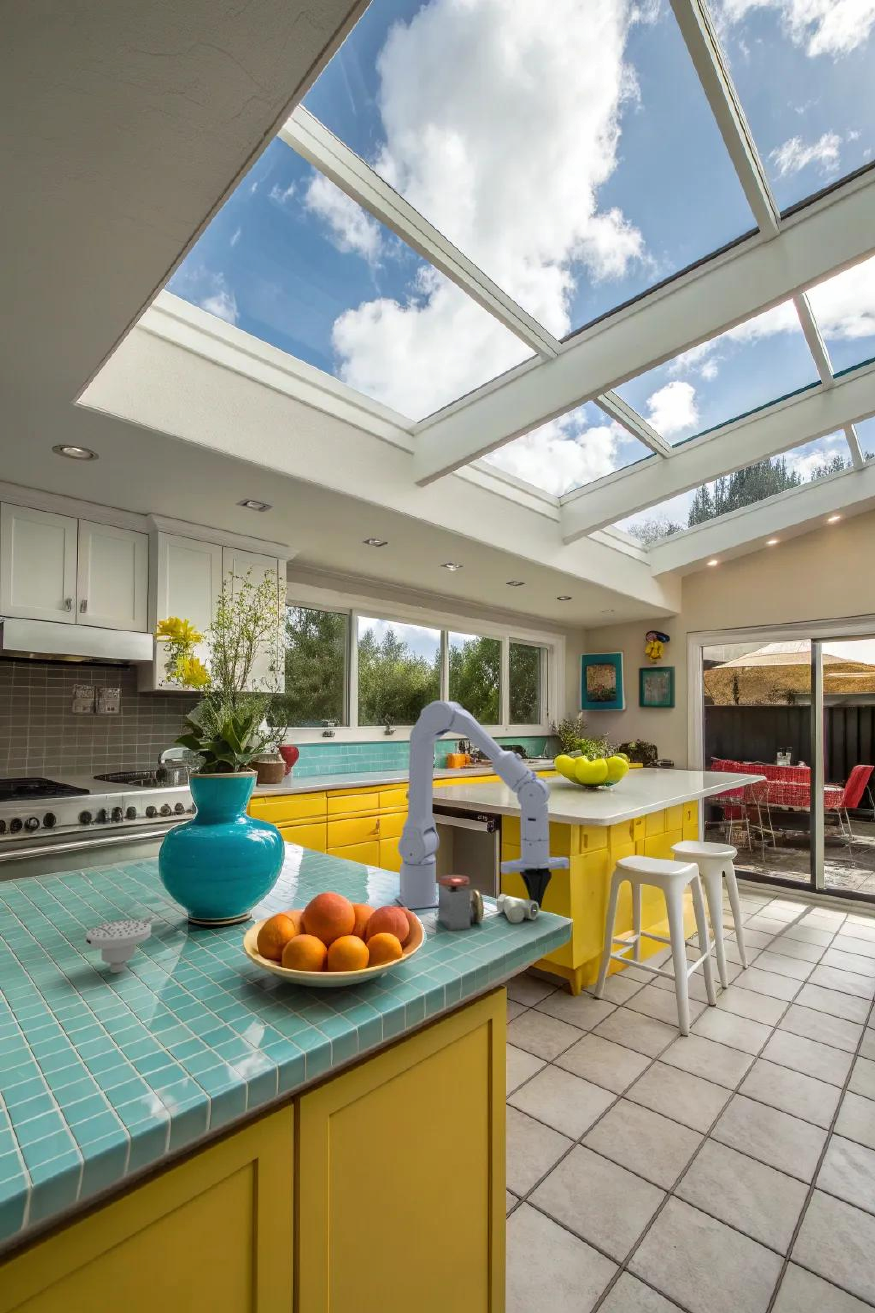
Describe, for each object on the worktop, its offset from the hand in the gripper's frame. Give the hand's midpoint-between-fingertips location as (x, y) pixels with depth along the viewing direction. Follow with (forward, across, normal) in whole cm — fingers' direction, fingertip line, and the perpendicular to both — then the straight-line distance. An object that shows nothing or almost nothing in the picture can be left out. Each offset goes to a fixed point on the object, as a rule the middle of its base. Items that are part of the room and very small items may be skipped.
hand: (536, 907), depth 134 cm
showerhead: (+2, -76, -4) cm, 76 cm away
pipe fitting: (+2, -5, 0) cm, 6 cm away
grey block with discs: (+2, -16, 0) cm, 16 cm away
